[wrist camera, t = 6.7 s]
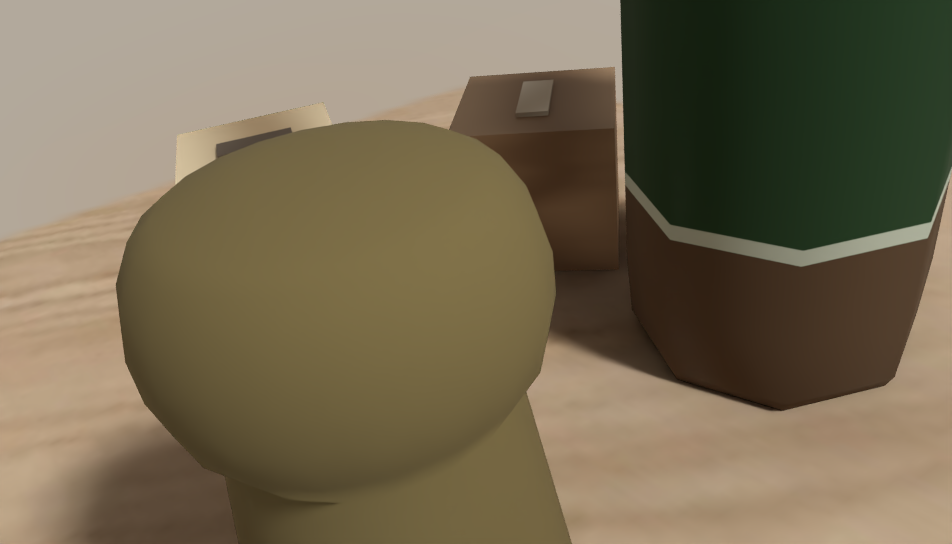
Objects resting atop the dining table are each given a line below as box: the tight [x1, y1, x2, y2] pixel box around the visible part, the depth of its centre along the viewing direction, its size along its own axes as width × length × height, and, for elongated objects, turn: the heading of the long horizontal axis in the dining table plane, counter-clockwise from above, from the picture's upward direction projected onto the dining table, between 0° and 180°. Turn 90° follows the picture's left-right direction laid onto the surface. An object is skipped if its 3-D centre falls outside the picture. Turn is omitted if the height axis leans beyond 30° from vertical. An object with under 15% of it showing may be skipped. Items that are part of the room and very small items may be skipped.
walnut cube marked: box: [449, 67, 619, 271], centre depth 28 cm, size 5×5×5 cm
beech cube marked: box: [175, 102, 332, 185], centre depth 27 cm, size 5×5×5 cm
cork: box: [116, 120, 572, 544], centre depth 12 cm, size 6×6×11 cm
